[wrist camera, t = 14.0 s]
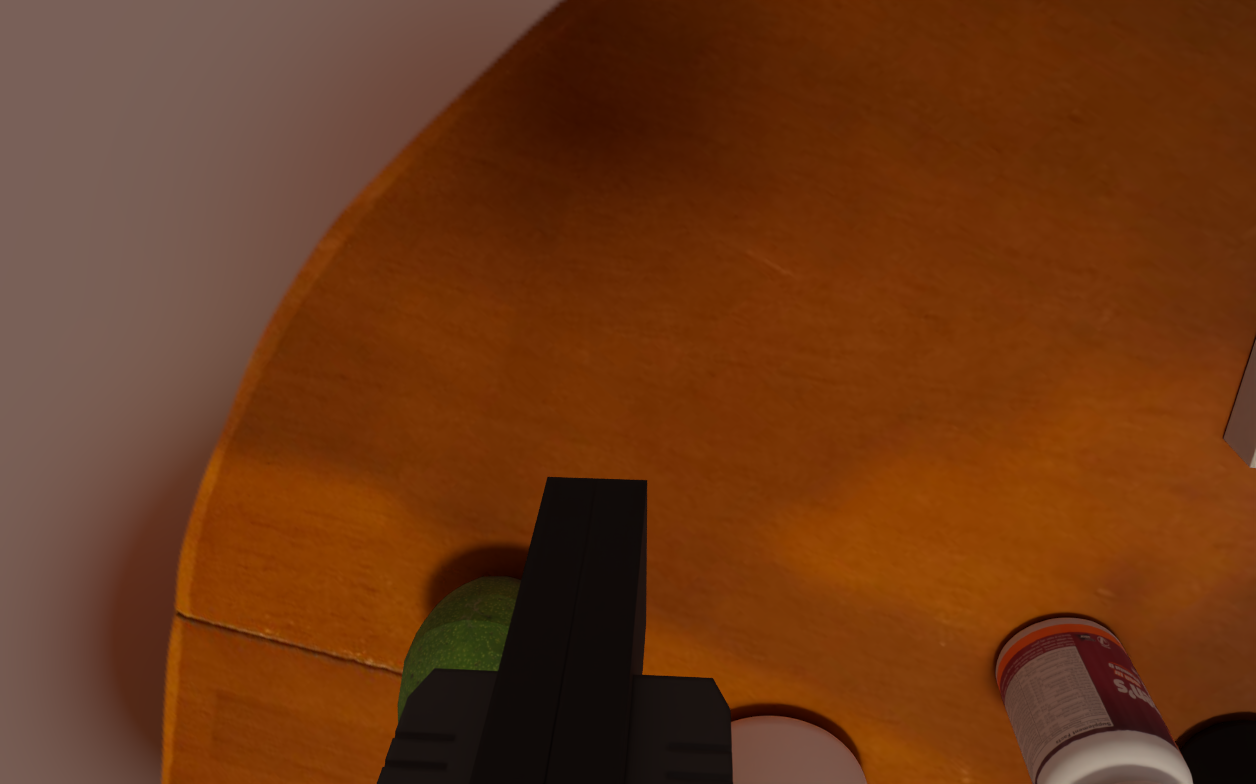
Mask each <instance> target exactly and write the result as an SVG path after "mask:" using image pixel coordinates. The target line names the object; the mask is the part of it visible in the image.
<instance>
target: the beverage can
mask: <svg viewBox="0 0 1256 784" xmlns="http://www.w3.org/2000/svg"><path fill="white" fill-rule="evenodd" d="M1180 752H1181V754H1182V756H1183V758H1184V760H1185V762H1186V764H1187V766H1188V768H1189V770H1190V773H1191V776H1192V780H1193V784H1256V721H1231V722H1225V723H1221V724H1218V725H1215V726H1212V727H1210V728H1207V729H1205V730H1203V731H1201V732H1200V733H1198V734H1197V735H1195V736H1194V737H1193V738H1191V739H1190V740H1189V741H1188V742H1187V743H1186V744H1185V745H1184V746H1183V748H1182V749H1181V751H1180Z"/></svg>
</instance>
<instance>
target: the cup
mask: <svg viewBox="0 0 1256 784" xmlns="http://www.w3.org/2000/svg"><path fill="white" fill-rule="evenodd" d="M731 736H732V764H733V784H867V782H866V779H865V775H864V773H863V771H862V768H861V766H860V764H859V763H858V761H857V759H856V758H855V756H854V755H853V754H852V753H851V751H850V750H849V749H848V748H847V747H846V746H845V745H844V744H843V743H842V742H841V741H840V740H839V739H837V738H836V737H835V736H833V735H832V734H830V733H829V732H827V731H825V730H824V729H822V728H820V727H818V726H815V725H813V724H811V723H808V722H805V721H802V720H798V719H794V718H789V717H783V716H755V717H749V718H743V719H740V720H736V721H733V722H731Z"/></svg>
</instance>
